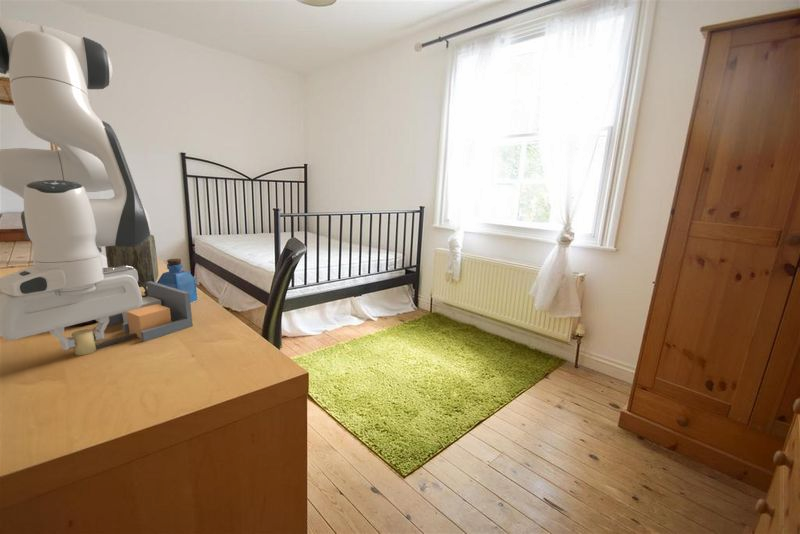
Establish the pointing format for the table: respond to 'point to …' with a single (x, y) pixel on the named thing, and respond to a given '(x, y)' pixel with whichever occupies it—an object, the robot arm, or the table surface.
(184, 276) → the perfume bottle
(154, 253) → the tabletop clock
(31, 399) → the table surface
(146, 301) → the white block
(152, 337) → the lane rack
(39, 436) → the table surface
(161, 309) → the tan block and knob
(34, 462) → the table surface
